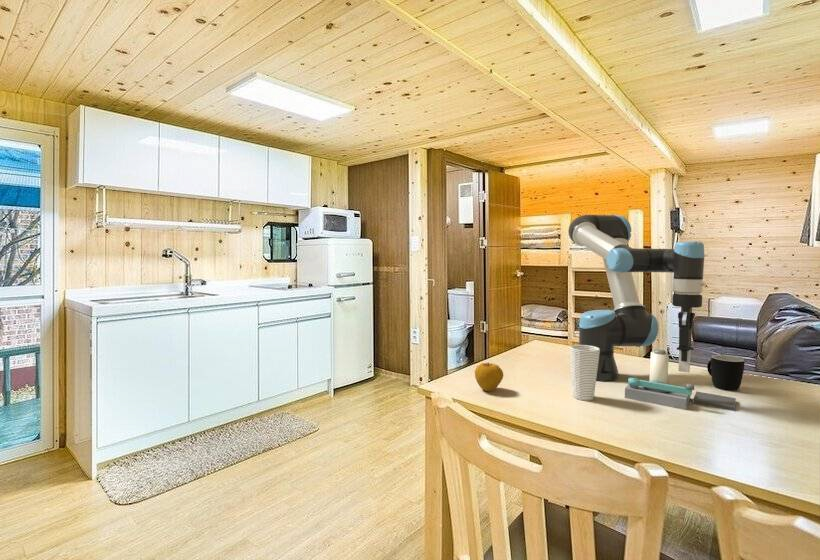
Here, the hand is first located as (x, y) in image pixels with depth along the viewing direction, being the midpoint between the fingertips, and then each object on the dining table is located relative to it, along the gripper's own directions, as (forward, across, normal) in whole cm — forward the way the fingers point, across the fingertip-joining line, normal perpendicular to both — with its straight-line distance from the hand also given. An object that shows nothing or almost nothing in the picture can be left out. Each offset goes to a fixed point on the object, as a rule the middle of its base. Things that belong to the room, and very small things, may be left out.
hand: (684, 371), depth 132 cm
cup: (+9, -17, +24) cm, 31 cm away
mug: (+9, +24, -9) cm, 27 cm away
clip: (+5, -6, +5) cm, 10 cm away
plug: (+9, -3, +6) cm, 11 cm away
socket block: (+9, -3, +6) cm, 11 cm away
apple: (+9, -29, +50) cm, 59 cm away
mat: (+9, +4, -8) cm, 13 cm away
